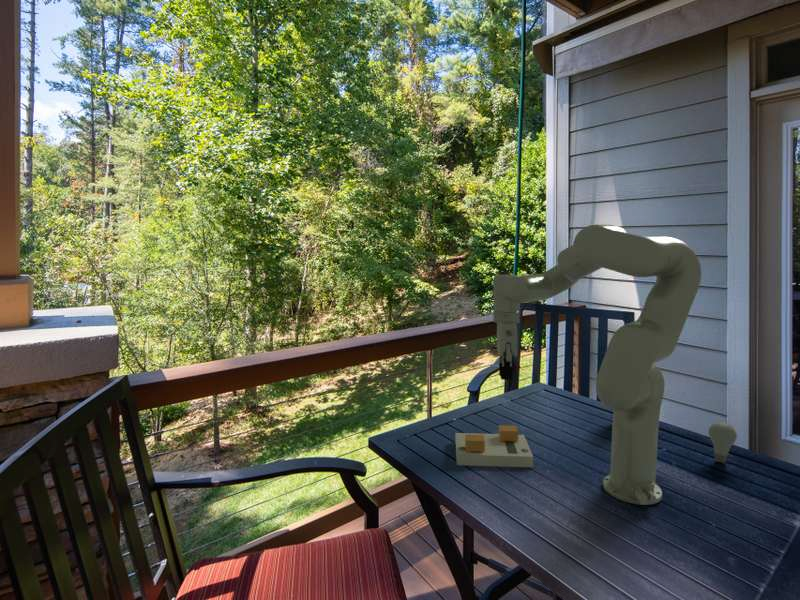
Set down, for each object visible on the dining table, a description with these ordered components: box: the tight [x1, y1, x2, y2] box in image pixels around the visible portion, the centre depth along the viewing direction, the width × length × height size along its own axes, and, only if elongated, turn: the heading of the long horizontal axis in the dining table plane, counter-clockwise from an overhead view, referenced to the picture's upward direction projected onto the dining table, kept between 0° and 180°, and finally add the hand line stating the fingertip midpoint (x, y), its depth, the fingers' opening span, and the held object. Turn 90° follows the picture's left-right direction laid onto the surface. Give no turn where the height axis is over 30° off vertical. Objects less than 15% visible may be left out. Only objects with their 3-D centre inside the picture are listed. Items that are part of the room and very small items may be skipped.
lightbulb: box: [707, 421, 738, 464], centre depth 120 cm, size 6×6×11 cm
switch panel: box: [454, 432, 534, 468], centre depth 127 cm, size 14×20×3 cm
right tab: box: [498, 424, 519, 441], centre depth 130 cm, size 4×5×3 cm
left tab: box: [465, 434, 485, 452], centre depth 124 cm, size 4×5×3 cm
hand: (505, 376), depth 136 cm, fingers open, 2 cm apart
